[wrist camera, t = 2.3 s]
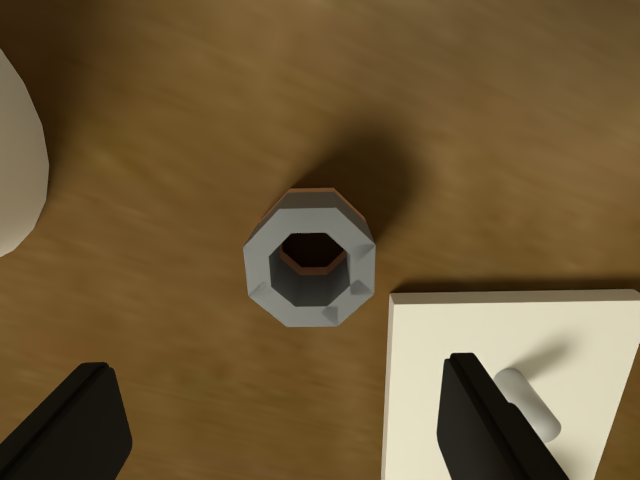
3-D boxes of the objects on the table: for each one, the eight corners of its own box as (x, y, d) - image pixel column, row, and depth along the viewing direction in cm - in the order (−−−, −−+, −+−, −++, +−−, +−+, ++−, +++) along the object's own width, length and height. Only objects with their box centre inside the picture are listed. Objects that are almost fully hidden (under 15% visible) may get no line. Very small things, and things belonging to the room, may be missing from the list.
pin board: (633, 289, 23) (748, 352, 16) (558, 529, 30) (617, 633, 24) (389, 293, 23) (413, 356, 17) (378, 530, 31) (392, 632, 25)
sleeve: (364, 186, 21) (376, 206, 16) (363, 283, 23) (373, 326, 18) (258, 189, 21) (238, 209, 16) (266, 284, 23) (251, 327, 18)
